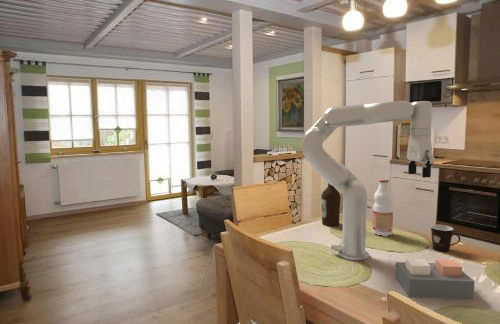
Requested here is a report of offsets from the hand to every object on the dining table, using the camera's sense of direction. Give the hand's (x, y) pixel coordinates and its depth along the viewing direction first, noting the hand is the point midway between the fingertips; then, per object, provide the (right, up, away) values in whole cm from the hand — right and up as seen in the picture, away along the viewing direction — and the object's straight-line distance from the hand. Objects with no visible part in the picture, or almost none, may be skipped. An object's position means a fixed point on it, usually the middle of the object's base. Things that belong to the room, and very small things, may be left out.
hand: (419, 175), depth 140 cm
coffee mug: (+17, -34, +13) cm, 40 cm away
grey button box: (-5, -38, -20) cm, 43 cm away
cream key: (-11, -33, -20) cm, 40 cm away
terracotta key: (-1, -33, -21) cm, 40 cm away
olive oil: (-23, -30, +56) cm, 67 cm away
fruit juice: (-1, -31, +37) cm, 49 cm away
